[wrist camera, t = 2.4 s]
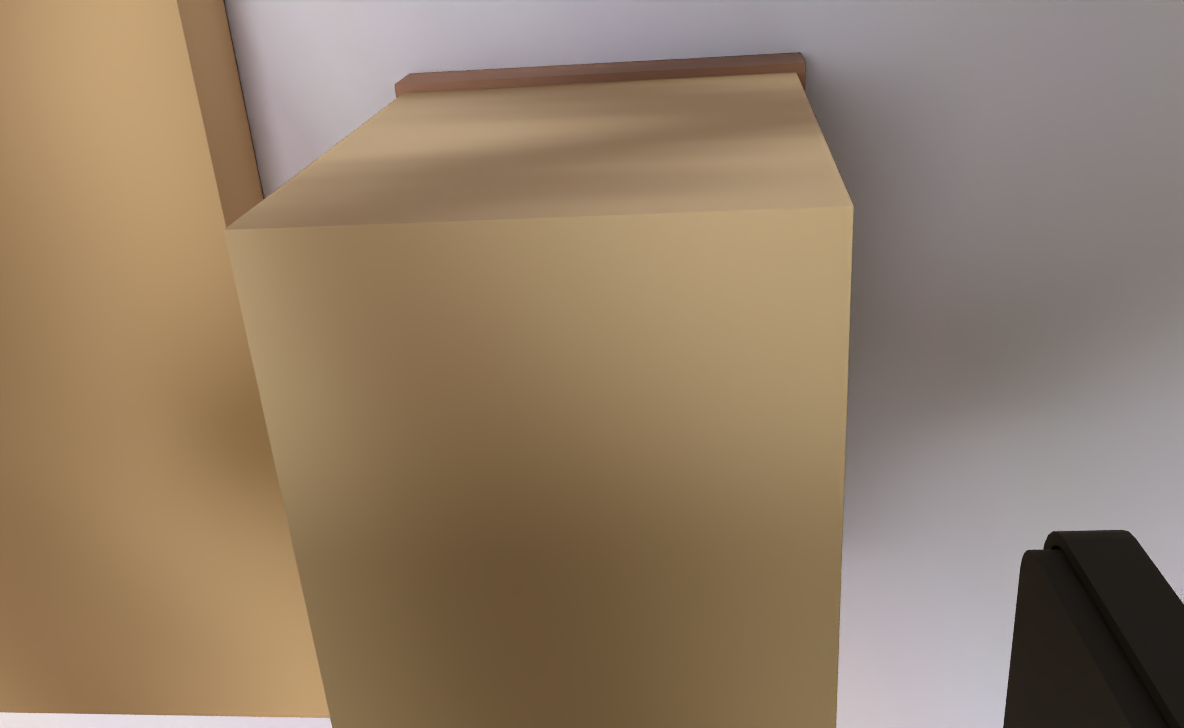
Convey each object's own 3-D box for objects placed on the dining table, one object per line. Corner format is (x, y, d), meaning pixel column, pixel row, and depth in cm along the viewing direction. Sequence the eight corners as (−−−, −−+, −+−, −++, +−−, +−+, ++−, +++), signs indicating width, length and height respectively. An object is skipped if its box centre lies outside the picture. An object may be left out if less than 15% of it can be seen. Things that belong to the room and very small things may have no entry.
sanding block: (799, 51, 13) (868, 190, 7) (794, 559, 16) (839, 927, 10) (411, 72, 13) (208, 216, 8) (477, 559, 16) (362, 909, 11)
